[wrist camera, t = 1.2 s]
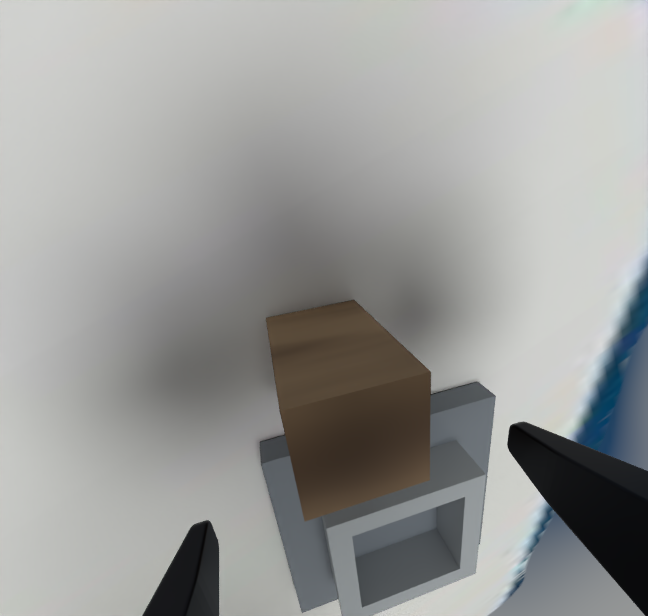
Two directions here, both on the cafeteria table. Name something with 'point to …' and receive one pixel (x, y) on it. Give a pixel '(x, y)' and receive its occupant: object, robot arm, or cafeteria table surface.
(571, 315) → the cafeteria table surface
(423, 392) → the walnut peg
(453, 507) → the socket block
